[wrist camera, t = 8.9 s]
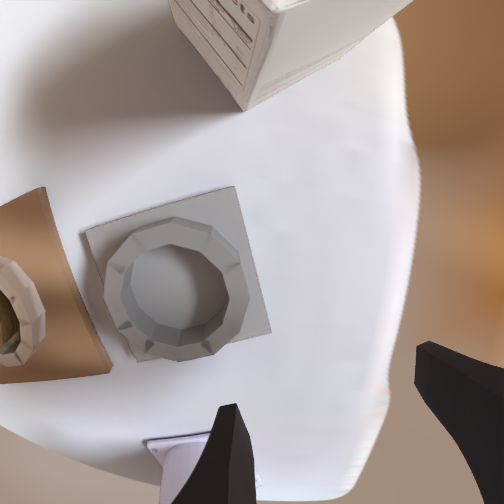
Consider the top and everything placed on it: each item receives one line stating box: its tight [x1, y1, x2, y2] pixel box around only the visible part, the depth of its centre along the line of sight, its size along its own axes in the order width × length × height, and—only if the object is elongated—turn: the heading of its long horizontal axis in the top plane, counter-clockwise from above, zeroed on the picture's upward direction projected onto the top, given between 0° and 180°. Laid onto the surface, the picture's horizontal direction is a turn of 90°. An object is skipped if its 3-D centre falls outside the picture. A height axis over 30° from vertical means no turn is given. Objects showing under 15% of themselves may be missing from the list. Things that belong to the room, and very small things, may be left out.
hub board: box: [0, 187, 113, 384], centre depth 17 cm, size 13×13×3 cm
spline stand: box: [85, 186, 272, 362], centre depth 17 cm, size 9×9×3 cm
